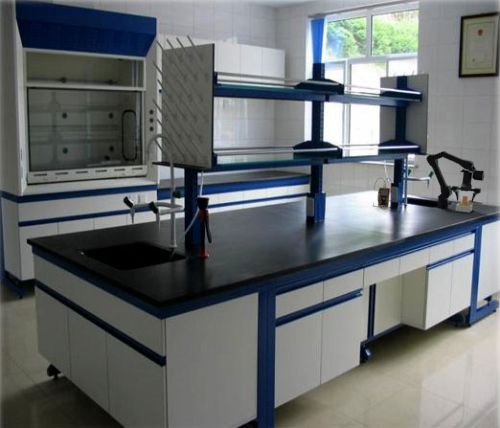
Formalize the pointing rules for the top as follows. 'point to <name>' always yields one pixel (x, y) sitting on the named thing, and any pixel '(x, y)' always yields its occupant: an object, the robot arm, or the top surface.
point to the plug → (464, 201)
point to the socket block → (464, 208)
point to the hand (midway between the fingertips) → (464, 201)
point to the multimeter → (383, 195)
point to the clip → (475, 202)
